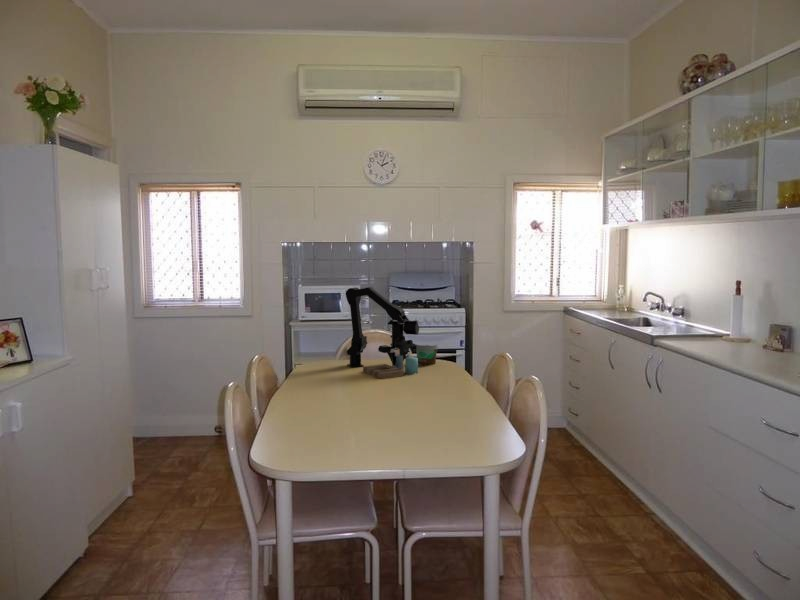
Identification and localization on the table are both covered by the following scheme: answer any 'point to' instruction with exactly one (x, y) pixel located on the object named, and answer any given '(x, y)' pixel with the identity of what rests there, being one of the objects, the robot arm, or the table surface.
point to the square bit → (398, 361)
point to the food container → (426, 354)
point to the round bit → (411, 365)
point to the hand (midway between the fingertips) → (397, 364)
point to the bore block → (383, 371)
